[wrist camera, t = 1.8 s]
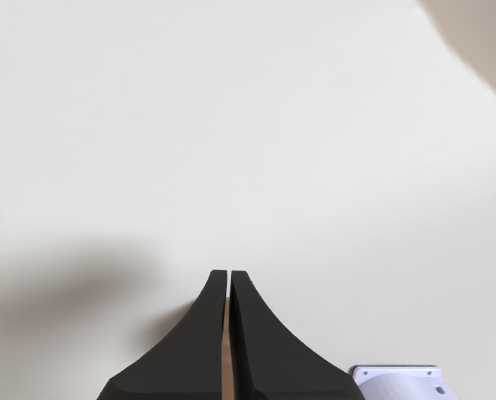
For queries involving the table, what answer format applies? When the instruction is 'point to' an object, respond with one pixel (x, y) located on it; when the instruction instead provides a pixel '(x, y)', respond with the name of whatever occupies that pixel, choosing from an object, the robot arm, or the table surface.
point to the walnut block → (227, 360)
